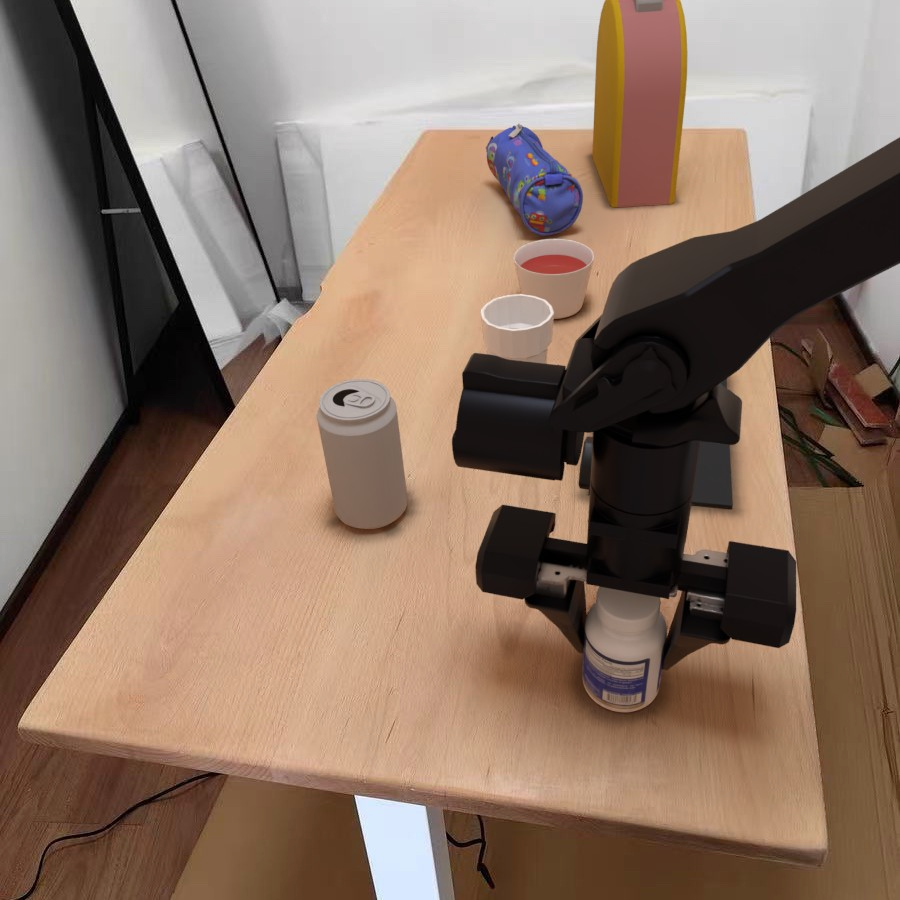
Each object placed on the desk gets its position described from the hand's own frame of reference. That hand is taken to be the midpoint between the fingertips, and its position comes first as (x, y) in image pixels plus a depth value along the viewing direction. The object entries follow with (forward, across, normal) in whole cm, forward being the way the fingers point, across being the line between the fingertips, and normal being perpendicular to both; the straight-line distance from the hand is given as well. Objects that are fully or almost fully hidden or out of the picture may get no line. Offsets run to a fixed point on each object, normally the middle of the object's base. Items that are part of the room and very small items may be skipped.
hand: (623, 656), depth 58 cm
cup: (+3, +14, -30) cm, 33 cm away
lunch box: (+3, +12, -91) cm, 92 cm away
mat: (+2, 0, -29) cm, 29 cm away
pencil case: (+3, +24, -78) cm, 81 cm away
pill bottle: (+3, 0, 0) cm, 3 cm away
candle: (+3, +15, -51) cm, 53 cm away
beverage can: (+3, +23, -12) cm, 27 cm away
